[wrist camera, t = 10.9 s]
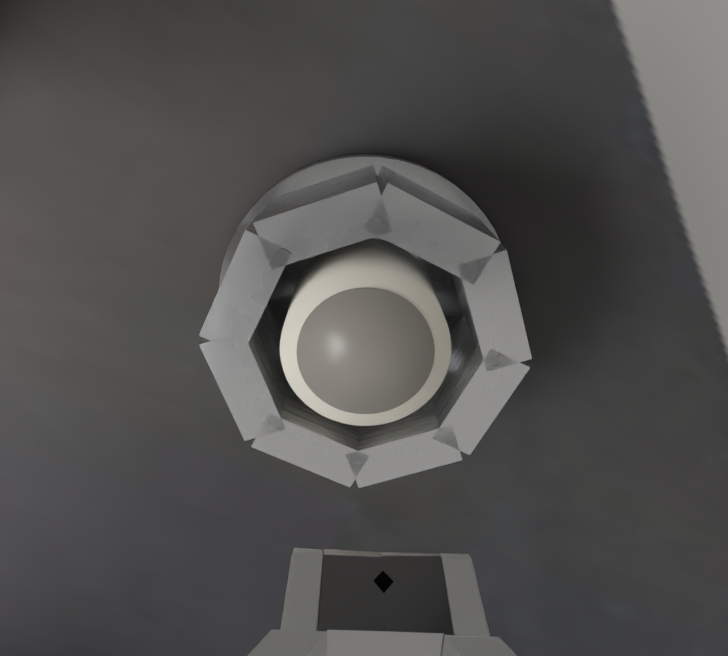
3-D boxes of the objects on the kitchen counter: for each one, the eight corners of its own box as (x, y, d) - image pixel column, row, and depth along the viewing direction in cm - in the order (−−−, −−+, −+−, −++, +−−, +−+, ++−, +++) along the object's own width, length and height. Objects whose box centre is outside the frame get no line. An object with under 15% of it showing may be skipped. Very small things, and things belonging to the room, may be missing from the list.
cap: (430, 372, 24) (445, 429, 20) (294, 371, 23) (282, 427, 20) (440, 239, 21) (459, 273, 18) (290, 236, 21) (276, 270, 17)
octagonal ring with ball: (419, 456, 26) (432, 535, 22) (183, 354, 24) (142, 418, 20) (560, 238, 22) (613, 278, 18) (295, 96, 20) (277, 99, 16)
